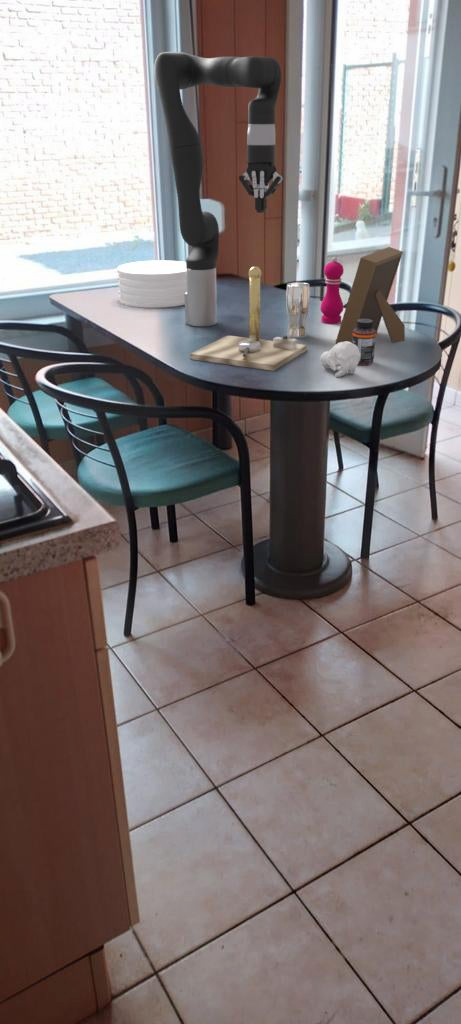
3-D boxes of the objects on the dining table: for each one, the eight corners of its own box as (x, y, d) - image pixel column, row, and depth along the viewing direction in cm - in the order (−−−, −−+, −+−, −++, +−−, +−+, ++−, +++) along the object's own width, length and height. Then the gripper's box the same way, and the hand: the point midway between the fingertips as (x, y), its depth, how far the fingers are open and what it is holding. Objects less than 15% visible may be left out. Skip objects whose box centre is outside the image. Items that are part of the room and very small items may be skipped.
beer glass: (310, 333, 235) (312, 282, 228) (305, 339, 229) (306, 287, 222) (288, 332, 237) (289, 281, 230) (282, 337, 231) (283, 285, 224)
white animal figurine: (343, 345, 189) (313, 339, 199) (343, 379, 193) (313, 372, 202) (363, 341, 192) (332, 335, 202) (362, 375, 196) (332, 368, 205)
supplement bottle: (349, 359, 209) (352, 317, 204) (371, 359, 209) (375, 317, 204) (352, 366, 204) (354, 322, 199) (374, 366, 204) (378, 322, 199)
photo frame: (335, 347, 221) (341, 255, 209) (363, 330, 237) (370, 245, 226) (384, 354, 214) (393, 260, 202) (410, 337, 231) (420, 249, 219)
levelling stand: (190, 359, 211) (189, 341, 209) (227, 340, 228) (227, 324, 226) (273, 370, 201) (274, 352, 198) (306, 350, 218) (307, 333, 216)
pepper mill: (341, 324, 244) (345, 258, 235) (318, 323, 246) (321, 258, 236) (343, 319, 251) (347, 255, 241) (321, 318, 252) (323, 254, 243)
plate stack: (211, 296, 285) (211, 264, 280) (166, 311, 264) (164, 276, 259) (151, 289, 299) (149, 258, 294) (103, 302, 278) (100, 269, 273)
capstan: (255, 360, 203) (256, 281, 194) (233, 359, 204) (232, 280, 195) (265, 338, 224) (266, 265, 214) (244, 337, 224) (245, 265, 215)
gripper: (289, 142, 207) (288, 212, 215) (245, 142, 213) (245, 210, 221) (278, 143, 201) (276, 214, 209) (232, 143, 207) (233, 212, 215)
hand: (260, 212), depth 215 cm, fingers closed
